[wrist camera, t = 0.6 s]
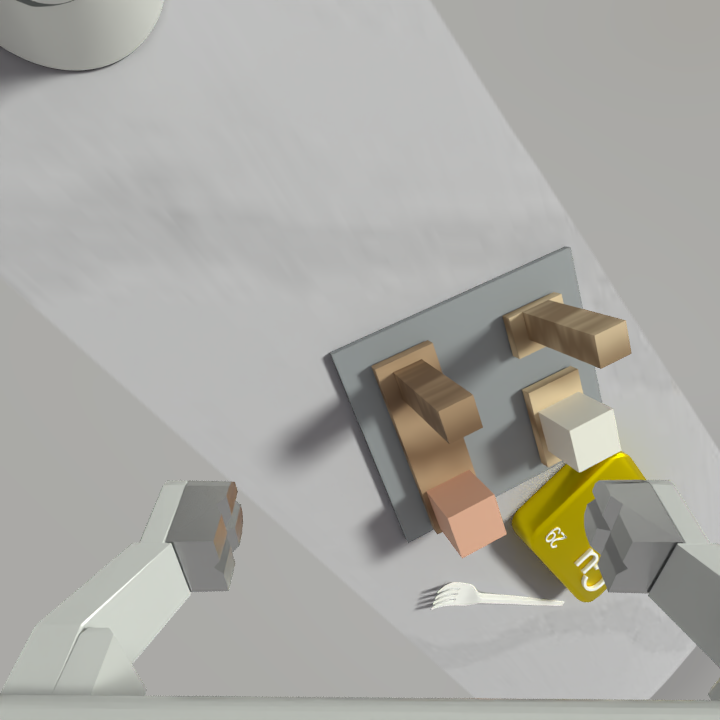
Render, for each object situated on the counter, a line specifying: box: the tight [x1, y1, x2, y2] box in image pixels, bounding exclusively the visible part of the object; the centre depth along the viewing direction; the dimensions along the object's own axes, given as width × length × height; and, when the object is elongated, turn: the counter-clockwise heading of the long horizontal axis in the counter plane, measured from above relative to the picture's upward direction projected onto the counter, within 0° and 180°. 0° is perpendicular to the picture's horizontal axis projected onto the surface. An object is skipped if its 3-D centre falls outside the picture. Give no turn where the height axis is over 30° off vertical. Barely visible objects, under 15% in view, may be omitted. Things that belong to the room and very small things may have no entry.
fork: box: [431, 582, 564, 610], centre depth 62 cm, size 3×20×2 cm, turn 72°
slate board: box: [330, 247, 602, 543], centre depth 54 cm, size 23×26×1 cm
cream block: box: [538, 392, 621, 473], centre depth 53 cm, size 5×5×5 cm
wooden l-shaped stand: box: [371, 340, 483, 534], centre depth 47 cm, size 20×6×11 cm, turn 21°
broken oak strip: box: [503, 292, 631, 468], centre depth 49 cm, size 18×6×11 cm, turn 21°
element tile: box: [512, 451, 646, 602], centre depth 61 cm, size 15×15×5 cm
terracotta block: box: [426, 470, 507, 558], centre depth 52 cm, size 5×5×5 cm
